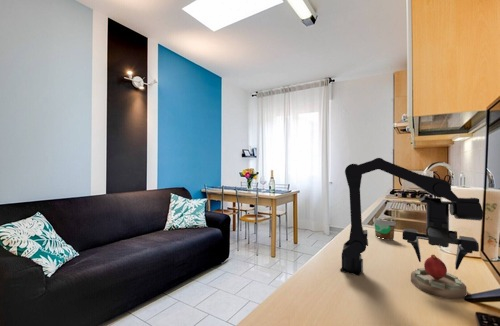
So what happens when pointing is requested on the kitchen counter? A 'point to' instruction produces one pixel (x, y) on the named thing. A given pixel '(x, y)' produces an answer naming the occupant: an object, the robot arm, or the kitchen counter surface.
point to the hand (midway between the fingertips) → (437, 265)
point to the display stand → (439, 284)
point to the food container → (384, 228)
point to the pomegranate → (435, 267)
